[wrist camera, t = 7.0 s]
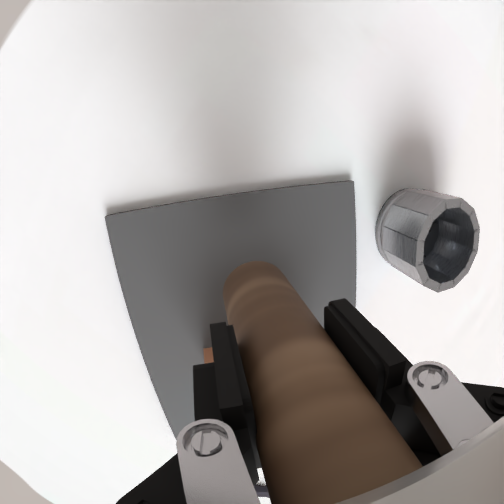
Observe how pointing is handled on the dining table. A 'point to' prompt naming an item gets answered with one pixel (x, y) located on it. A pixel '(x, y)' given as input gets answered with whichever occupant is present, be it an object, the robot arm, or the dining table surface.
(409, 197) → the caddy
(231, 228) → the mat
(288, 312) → the rod
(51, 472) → the dining table surface
